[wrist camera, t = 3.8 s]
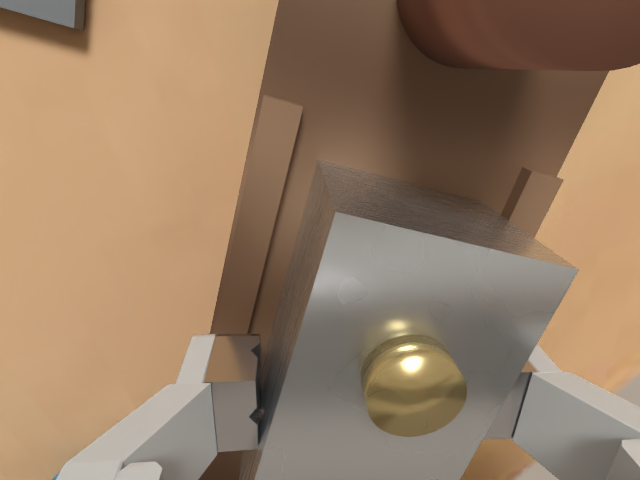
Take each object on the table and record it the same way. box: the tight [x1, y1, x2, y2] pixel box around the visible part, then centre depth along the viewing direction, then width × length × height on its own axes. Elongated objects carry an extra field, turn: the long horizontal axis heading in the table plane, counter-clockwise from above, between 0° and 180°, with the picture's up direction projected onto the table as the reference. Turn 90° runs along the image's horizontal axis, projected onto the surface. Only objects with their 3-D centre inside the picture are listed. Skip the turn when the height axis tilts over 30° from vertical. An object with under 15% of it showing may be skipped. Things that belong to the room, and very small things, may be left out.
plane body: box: [198, 0, 640, 480], centre depth 11 cm, size 20×7×10 cm, turn 165°
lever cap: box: [239, 159, 579, 480], centre depth 9 cm, size 8×4×4 cm, turn 165°
